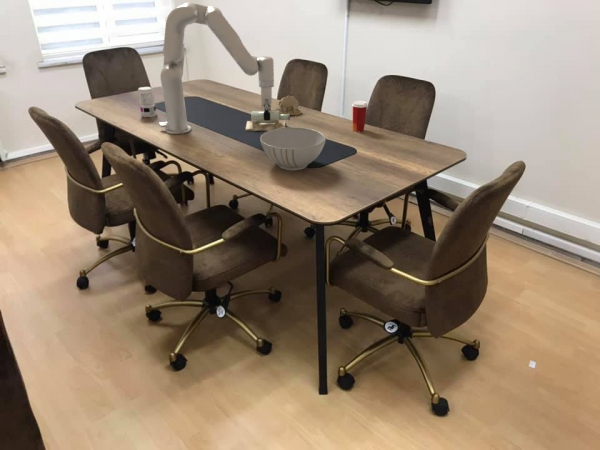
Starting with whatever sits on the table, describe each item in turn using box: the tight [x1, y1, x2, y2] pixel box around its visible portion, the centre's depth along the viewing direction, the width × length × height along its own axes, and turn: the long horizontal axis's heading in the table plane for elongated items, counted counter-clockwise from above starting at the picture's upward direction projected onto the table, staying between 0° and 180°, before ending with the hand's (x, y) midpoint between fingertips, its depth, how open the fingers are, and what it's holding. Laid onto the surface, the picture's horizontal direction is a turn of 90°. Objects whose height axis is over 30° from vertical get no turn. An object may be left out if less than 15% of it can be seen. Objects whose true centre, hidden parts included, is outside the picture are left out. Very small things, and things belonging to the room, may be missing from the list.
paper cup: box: [351, 100, 369, 133], centre depth 232 cm, size 8×8×14 cm
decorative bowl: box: [259, 126, 326, 171], centre depth 193 cm, size 27×27×12 cm
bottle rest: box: [245, 120, 286, 132], centre depth 239 cm, size 20×13×4 cm, turn 92°
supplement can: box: [137, 86, 158, 118], centre depth 253 cm, size 8×8×15 cm
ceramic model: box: [274, 94, 302, 116], centre depth 259 cm, size 14×11×10 cm
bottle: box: [250, 110, 291, 123], centre depth 238 cm, size 20×6×6 cm, turn 92°
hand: (267, 117), depth 238 cm, fingers open, 9 cm apart
